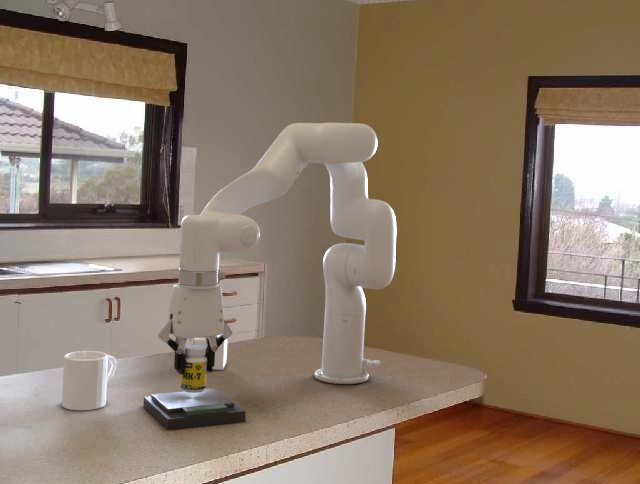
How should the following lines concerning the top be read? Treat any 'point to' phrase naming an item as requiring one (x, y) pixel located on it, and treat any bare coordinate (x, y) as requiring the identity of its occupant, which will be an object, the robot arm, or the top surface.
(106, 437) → the top surface
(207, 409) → the scale
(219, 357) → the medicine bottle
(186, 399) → the scale pan
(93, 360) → the mug
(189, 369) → the supplement bottle
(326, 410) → the top surface
